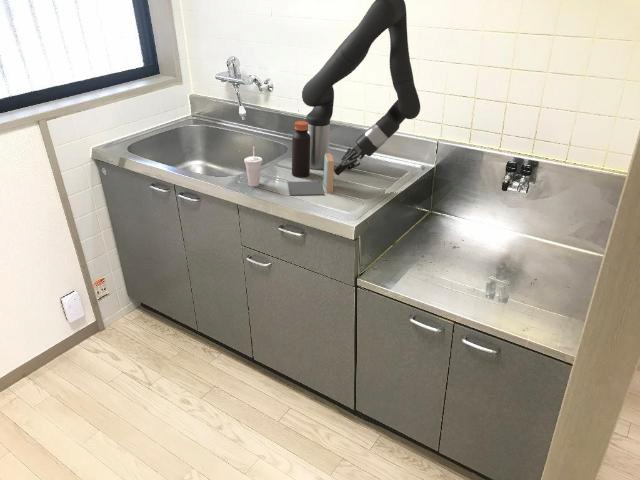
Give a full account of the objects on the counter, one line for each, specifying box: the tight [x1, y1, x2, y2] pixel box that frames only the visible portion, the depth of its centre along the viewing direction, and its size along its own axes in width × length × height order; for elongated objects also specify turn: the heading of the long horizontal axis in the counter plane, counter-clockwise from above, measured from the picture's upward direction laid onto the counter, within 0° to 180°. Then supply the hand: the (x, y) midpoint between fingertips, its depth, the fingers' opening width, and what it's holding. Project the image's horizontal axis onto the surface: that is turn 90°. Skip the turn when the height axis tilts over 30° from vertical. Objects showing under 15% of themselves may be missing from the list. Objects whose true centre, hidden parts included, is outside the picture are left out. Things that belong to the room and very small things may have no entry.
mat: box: [287, 180, 325, 197], centre depth 192 cm, size 12×12×1 cm
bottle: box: [291, 120, 311, 178], centre depth 199 cm, size 7×7×20 cm
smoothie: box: [243, 146, 263, 187], centre depth 190 cm, size 6×6×14 cm
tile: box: [322, 152, 335, 194], centre depth 190 cm, size 2×8×12 cm, turn 7°
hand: (335, 173), depth 190 cm, fingers closed
